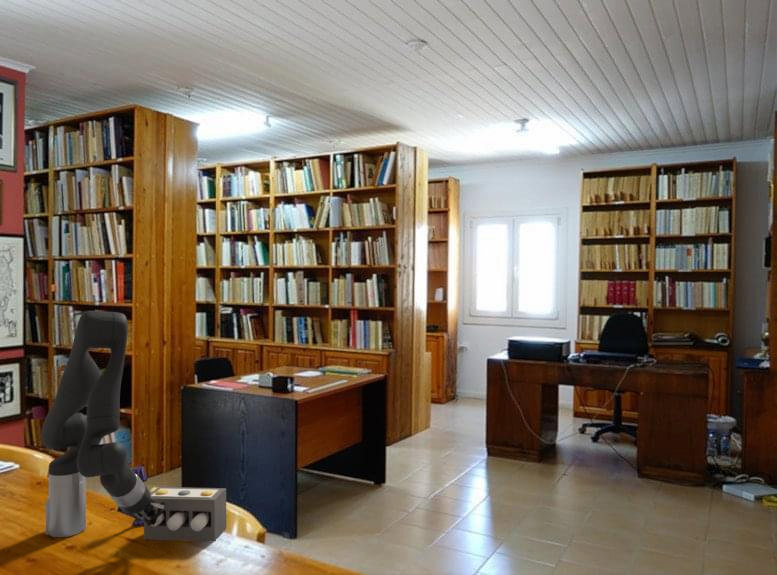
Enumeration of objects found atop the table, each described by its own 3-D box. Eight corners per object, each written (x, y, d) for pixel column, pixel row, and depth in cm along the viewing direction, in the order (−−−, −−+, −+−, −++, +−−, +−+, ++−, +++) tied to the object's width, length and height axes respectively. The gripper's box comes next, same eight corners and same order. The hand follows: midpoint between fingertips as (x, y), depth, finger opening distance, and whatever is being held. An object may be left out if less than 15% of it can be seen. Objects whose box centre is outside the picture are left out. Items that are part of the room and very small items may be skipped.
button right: (190, 531, 158) (190, 517, 158) (200, 521, 164) (200, 508, 164) (203, 531, 158) (203, 518, 158) (212, 521, 164) (212, 508, 164)
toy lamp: (141, 528, 170) (140, 470, 170) (126, 526, 171) (126, 469, 171) (151, 521, 175) (150, 465, 175) (137, 520, 176) (136, 464, 176)
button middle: (167, 530, 158) (166, 517, 158) (177, 520, 165) (177, 507, 165) (180, 530, 158) (179, 517, 158) (190, 521, 165) (189, 508, 165)
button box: (143, 539, 163) (143, 496, 162) (159, 526, 172) (158, 484, 171) (214, 541, 161) (214, 497, 161) (226, 528, 170) (226, 486, 170)
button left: (147, 526, 161) (147, 513, 161) (158, 516, 168) (158, 504, 168) (160, 526, 161) (160, 513, 161) (171, 517, 167) (171, 504, 167)
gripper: (159, 478, 150) (180, 508, 163) (109, 477, 151) (134, 507, 164) (149, 507, 145) (172, 536, 157) (97, 505, 146) (124, 534, 158)
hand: (152, 521), depth 161 cm, fingers closed
